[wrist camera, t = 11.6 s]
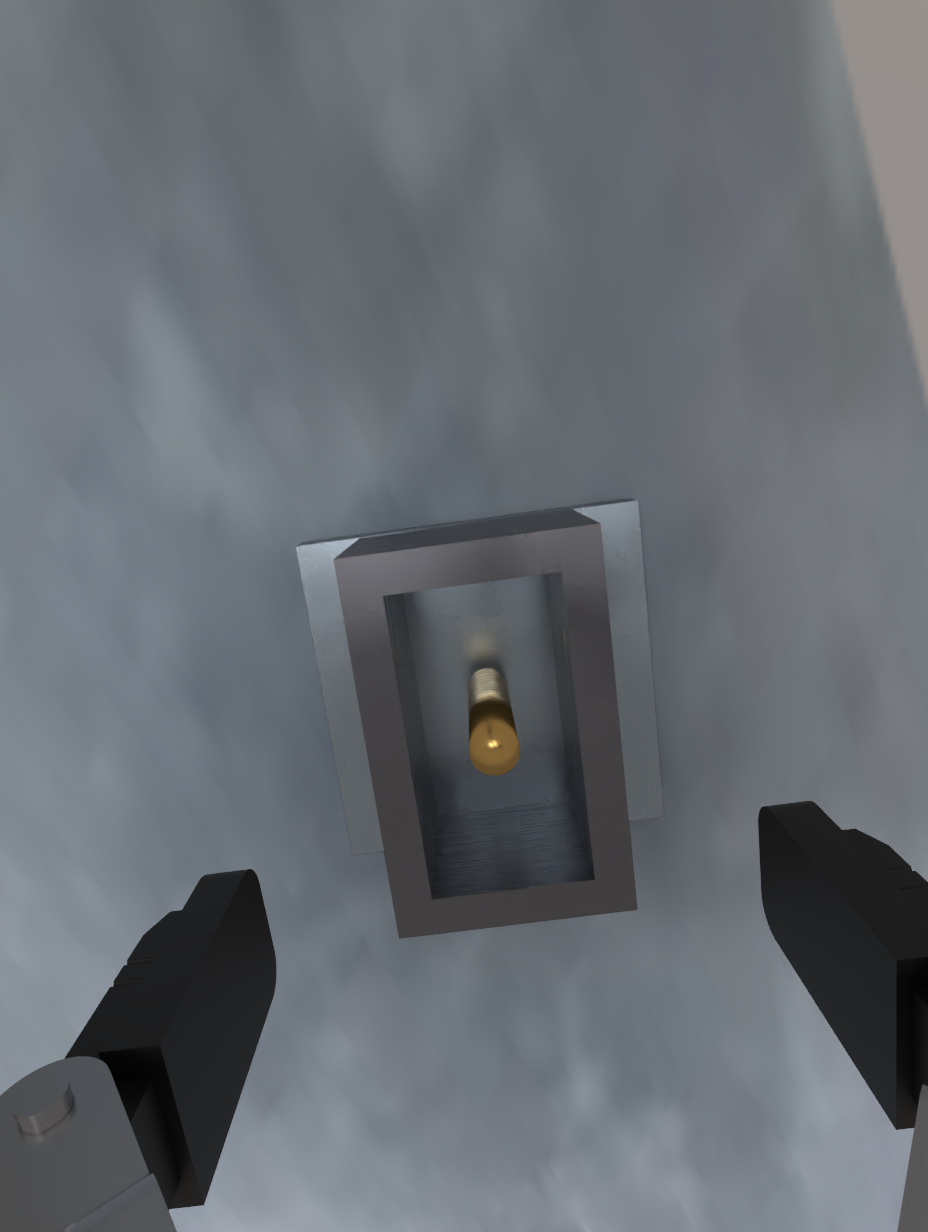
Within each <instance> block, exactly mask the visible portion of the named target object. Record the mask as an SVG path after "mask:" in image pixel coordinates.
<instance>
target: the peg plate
mask: <svg viewBox="0 0 928 1232" xmlns="http://www.w3.org/2000/svg"><path fill="white" fill-rule="evenodd" d="M569 509H573V510H575V511H577V512H579V513H581V514H583V515H585V516H587V517H589V518H591V519H593V520H595V521H597V522H599V523H601V533H602V544H603V554H604V565H605V575H606V586H607V596H608V607H609V617H610V628H611V638H612V649H613V659H614V670H615V680H616V691H617V701H618V712H619V722H620V733H621V743H622V754H623V764H624V775H625V785H626V796H627V806H628V817H629V821H635V820H644V819H652V818H660V817H664V808H663V796H662V784H661V772H660V759H659V747H658V735H657V723H656V711H655V698H654V686H653V674H652V662H651V650H650V637H649V625H648V613H647V601H646V589H645V576H644V564H643V552H642V540H641V527H640V515H639V503H638V500H635V499H631V498H630V499H622V500H615V501H608V502H600V503H593V504H585V505H578V506H570V507H563V508H555V509H548V510H540V511H533V512H526V513H518V514H511V515H503V516H496V517H488V518H481V519H473V520H466V521H458V522H451V523H444V524H436V525H429V526H421V527H414V528H406V529H399V530H391V531H384V532H376V533H369V534H362V535H354V536H347V537H339V538H332V539H324V540H317V541H309V542H303V543H301V544H299V545H297V546H296V550H297V556H298V561H299V567H300V572H301V578H302V583H303V589H304V594H305V600H306V605H307V611H308V616H309V622H310V627H311V633H312V638H313V644H314V649H315V654H316V660H317V665H318V671H319V676H320V682H321V687H322V693H323V698H324V704H325V709H326V715H327V720H328V726H329V731H330V737H331V742H332V748H333V753H334V759H335V764H336V769H337V775H338V780H339V786H340V791H341V797H342V802H343V808H344V813H345V819H346V824H347V830H348V835H349V841H350V846H351V852H352V855H358V854H366V853H375V852H383V851H384V848H383V842H382V837H381V831H380V825H379V819H378V814H377V808H376V802H375V796H374V791H373V785H372V779H371V774H370V768H369V762H368V756H367V751H366V745H365V739H364V733H363V728H362V722H361V716H360V710H359V705H358V699H357V693H356V687H355V682H354V676H353V670H352V665H351V659H350V653H349V647H348V642H347V636H346V630H345V624H344V619H343V613H342V607H341V601H340V596H339V590H338V584H337V579H336V573H335V567H334V561H333V559H334V558H336V557H337V556H338V555H339V554H341V553H342V552H343V551H344V550H345V549H347V548H348V547H349V546H350V545H352V544H353V543H354V542H355V541H357V540H358V539H359V538H363V537H371V536H378V535H385V534H393V533H400V532H407V531H415V530H422V529H429V528H437V527H444V526H451V525H459V524H466V523H474V522H481V521H488V520H496V519H503V518H510V517H518V516H525V515H532V514H540V513H547V512H554V511H562V510H569ZM403 596H404V603H405V609H406V616H407V622H408V629H409V635H410V641H411V648H412V654H413V661H414V667H415V674H416V680H417V686H418V693H419V699H420V706H421V712H422V719H423V725H424V731H425V738H426V744H427V751H428V757H429V764H430V770H431V776H432V783H433V789H434V796H435V802H436V809H437V815H438V816H440V815H448V814H456V813H464V812H472V811H480V810H488V809H496V808H504V807H512V806H520V805H528V804H536V803H544V802H552V801H560V800H567V799H570V796H569V788H568V779H567V770H566V761H565V752H564V743H563V735H562V726H561V717H560V708H559V699H558V690H557V682H556V673H555V664H554V655H553V646H552V637H551V629H550V620H549V611H548V602H547V593H546V584H545V576H544V574H543V575H536V576H528V577H521V578H513V579H506V580H498V581H491V582H483V583H476V584H468V585H461V586H453V587H446V588H438V589H431V590H423V591H416V592H408V593H403Z"/></svg>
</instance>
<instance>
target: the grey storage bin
mask: <svg viewBox="0 0 928 1232" xmlns="http://www.w3.org/2000/svg"><path fill="white" fill-rule="evenodd" d="M333 561H334V567H335V573H336V579H337V584H338V590H339V596H340V601H341V607H342V613H343V619H344V624H345V630H346V636H347V642H348V647H349V653H350V659H351V665H352V670H353V676H354V682H355V687H356V693H357V699H358V705H359V710H360V716H361V722H362V728H363V733H364V739H365V745H366V751H367V756H368V762H369V768H370V774H371V779H372V785H373V791H374V796H375V802H376V808H377V814H378V819H379V825H380V831H381V837H382V842H383V848H384V854H385V860H386V865H387V871H388V877H389V882H390V888H391V894H392V900H393V905H394V911H395V917H396V923H397V928H398V934H399V939H400V938H408V937H416V936H424V935H433V934H441V933H449V932H457V931H466V930H474V929H482V928H490V927H499V926H507V925H515V924H523V923H532V922H540V921H548V920H556V919H565V918H573V917H581V916H589V915H598V914H606V913H614V912H622V911H631V910H637V901H636V890H635V880H634V869H633V859H632V848H631V838H630V827H629V817H628V806H627V796H626V785H625V775H624V764H623V754H622V743H621V733H620V722H619V712H618V701H617V691H616V680H615V670H614V659H613V649H612V638H611V628H610V617H609V607H608V596H607V586H606V575H605V565H604V554H603V544H602V533H601V523H599V522H597V521H595V520H593V519H591V518H589V517H587V516H585V515H583V514H581V513H579V512H577V511H575V510H573V509H569V510H562V511H554V512H547V513H540V514H532V515H525V516H518V517H510V518H503V519H496V520H488V521H481V522H474V523H466V524H459V525H451V526H444V527H437V528H429V529H422V530H415V531H407V532H400V533H393V534H385V535H378V536H371V537H363V538H359V539H358V540H357V541H355V542H354V543H353V544H352V545H350V546H349V547H348V548H347V549H345V550H344V551H343V552H342V553H341V554H339V555H338V556H337V557H336V558H334V559H333ZM543 574H544V576H545V584H546V593H547V602H548V611H549V620H550V629H551V637H552V646H553V655H554V664H555V673H556V682H557V690H558V699H559V708H560V717H561V726H562V735H563V743H564V752H565V761H566V770H567V779H568V788H569V796H570V799H567V800H560V801H552V802H544V803H536V804H528V805H520V806H512V807H504V808H496V809H488V810H480V811H472V812H464V813H456V814H448V815H440V816H438V815H437V809H436V802H435V796H434V789H433V783H432V776H431V770H430V764H429V757H428V751H427V744H426V738H425V731H424V725H423V719H422V712H421V706H420V699H419V693H418V686H417V680H416V674H415V667H414V661H413V654H412V648H411V641H410V635H409V629H408V622H407V616H406V609H405V603H404V596H403V593H408V592H416V591H423V590H431V589H438V588H446V587H453V586H461V585H468V584H476V583H483V582H491V581H498V580H506V579H513V578H521V577H528V576H536V575H543Z"/></svg>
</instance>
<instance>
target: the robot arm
mask: <svg viewBox="0 0 928 1232" xmlns="http://www.w3.org/2000/svg"><path fill="white" fill-rule="evenodd" d="M758 826H759V848H760V870H761V892H762V901H763V907H764V911H765V915H766V919H767V922H768V925H769V927H770V930H771V932H772V934H773V936H774V938H775V940H776V941H777V943H778V944H779V946H780V948H781V949H782V951H783V952H784V954H785V955H786V957H787V959H788V960H789V962H790V963H791V965H792V966H793V968H794V970H795V971H796V973H797V974H798V976H799V977H800V979H801V981H802V982H803V984H804V985H805V987H806V989H807V990H808V992H809V993H810V995H811V996H812V998H813V1000H814V1001H815V1003H816V1004H817V1006H818V1007H819V1009H820V1011H821V1012H822V1014H823V1015H824V1017H825V1018H826V1020H827V1022H828V1023H829V1025H830V1026H831V1028H832V1029H833V1031H834V1033H835V1034H836V1036H837V1037H838V1039H839V1040H840V1042H841V1044H842V1045H843V1047H844V1048H845V1050H846V1052H847V1053H848V1055H849V1056H850V1058H851V1059H852V1061H853V1063H854V1064H855V1066H856V1067H857V1069H858V1070H859V1072H860V1074H861V1075H862V1077H863V1078H864V1080H865V1081H866V1083H867V1085H868V1086H869V1088H870V1089H871V1091H872V1092H873V1094H874V1096H875V1097H876V1099H877V1100H878V1102H879V1103H880V1105H881V1107H882V1108H883V1110H884V1111H885V1113H886V1115H887V1116H888V1118H889V1119H890V1121H891V1122H892V1124H893V1126H894V1127H895V1129H896V1130H898V1129H907V1128H914V1134H913V1140H912V1146H911V1152H910V1158H909V1164H908V1170H907V1177H906V1183H905V1189H904V1195H903V1201H902V1207H901V1213H900V1219H899V1225H898V1231H897V1232H928V882H927V881H926V880H925V879H924V878H923V877H921V876H920V875H919V874H918V873H917V872H916V871H912V869H911V866H910V865H909V864H908V863H907V862H906V861H904V860H903V859H902V858H901V857H900V856H899V855H898V854H897V853H896V852H895V851H894V850H893V849H892V848H891V847H890V846H889V845H887V844H885V843H883V842H881V841H879V840H877V839H875V838H873V837H871V836H869V835H867V834H865V833H863V832H861V831H859V830H857V829H849V830H841V829H840V828H839V827H838V826H837V825H836V824H835V823H834V822H833V821H832V820H831V819H830V818H829V817H828V816H827V815H826V814H825V813H824V812H823V810H822V809H821V808H820V807H819V806H818V805H817V804H815V803H814V802H812V801H805V802H797V803H789V804H781V805H773V806H765V807H762V808H761V809H760V812H759V818H758ZM275 985H276V957H275V951H274V947H273V942H272V938H271V933H270V929H269V924H268V920H267V915H266V911H265V906H264V902H263V897H262V893H261V888H260V884H259V880H258V877H257V875H256V873H255V872H254V871H253V870H252V869H248V870H240V871H232V872H224V873H216V874H208V875H204V876H203V877H202V878H201V879H200V881H199V882H198V884H197V886H196V887H195V889H194V891H193V892H192V894H191V896H190V898H189V899H188V901H187V903H186V904H185V906H184V908H183V909H182V910H180V911H172V912H170V913H168V914H167V915H166V916H165V917H164V918H163V919H161V920H160V921H159V922H158V923H157V924H156V925H154V926H153V927H152V928H151V929H150V930H149V931H148V932H146V933H145V934H144V935H143V937H142V938H141V940H140V941H139V943H138V944H137V946H136V947H135V949H134V951H133V952H132V954H131V955H130V957H129V958H128V960H127V965H124V966H123V968H122V969H121V971H120V973H119V974H118V976H117V977H116V979H115V980H114V986H113V987H110V988H109V990H108V991H107V993H106V994H105V996H104V998H103V999H102V1001H101V1002H100V1004H99V1005H98V1007H97V1009H96V1010H95V1012H94V1013H93V1015H92V1016H91V1018H90V1020H89V1021H88V1023H87V1024H86V1026H85V1027H84V1029H83V1030H82V1032H81V1034H80V1035H79V1037H78V1038H77V1040H76V1041H75V1043H74V1045H73V1046H72V1048H71V1049H70V1051H69V1052H68V1054H67V1056H66V1057H65V1059H63V1060H59V1061H56V1062H53V1063H51V1064H48V1065H46V1066H44V1067H42V1068H39V1069H37V1070H35V1071H34V1072H32V1073H30V1074H29V1075H27V1076H25V1077H24V1078H22V1079H21V1080H19V1081H18V1082H16V1083H15V1084H14V1085H12V1086H11V1087H10V1088H9V1089H8V1090H6V1091H5V1092H4V1093H3V1094H2V1095H1V1096H0V1232H177V1231H176V1229H175V1226H174V1224H173V1221H172V1218H171V1216H170V1213H169V1209H174V1208H182V1207H191V1206H200V1205H204V1203H205V1200H206V1197H207V1194H208V1191H209V1188H210V1185H211V1182H212V1179H213V1176H214V1173H215V1170H216V1167H217V1164H218V1161H219V1158H220V1155H221V1152H222V1149H223V1146H224V1143H225V1140H226V1137H227V1134H228V1131H229V1128H230V1125H231V1122H232V1119H233V1116H234V1113H235V1110H236V1107H237V1104H238V1101H239V1098H240V1095H241V1092H242V1089H243V1086H244V1083H245V1080H246V1077H247V1074H248V1071H249V1068H250V1065H251V1062H252V1059H253V1056H254V1053H255V1050H256V1047H257V1044H258V1041H259V1038H260V1035H261V1032H262V1029H263V1026H264V1023H265V1020H266V1017H267V1014H268V1011H269V1008H270V1005H271V1002H272V999H273V996H274V991H275Z"/></svg>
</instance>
